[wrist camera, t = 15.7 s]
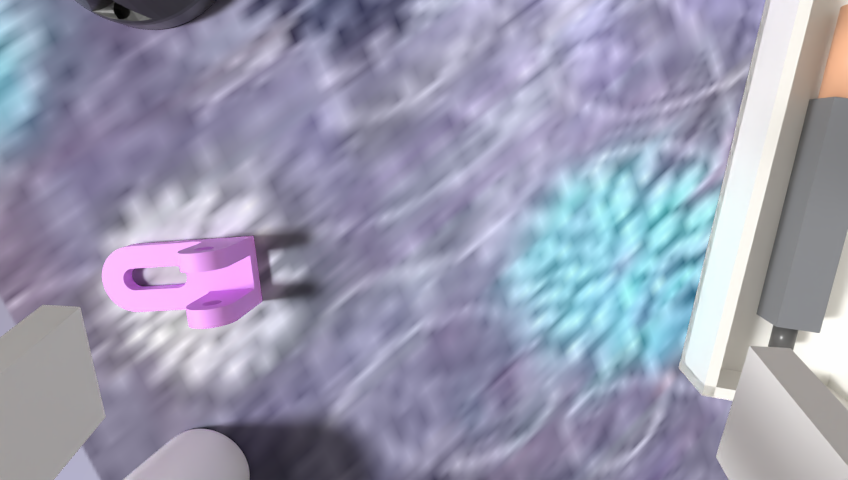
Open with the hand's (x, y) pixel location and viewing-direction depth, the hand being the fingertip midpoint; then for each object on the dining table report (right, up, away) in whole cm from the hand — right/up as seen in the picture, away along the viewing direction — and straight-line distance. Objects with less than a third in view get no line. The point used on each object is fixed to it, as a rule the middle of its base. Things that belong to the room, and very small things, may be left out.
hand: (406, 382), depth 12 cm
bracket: (-20, 0, +38) cm, 42 cm away
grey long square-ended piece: (+28, +7, +30) cm, 42 cm away
